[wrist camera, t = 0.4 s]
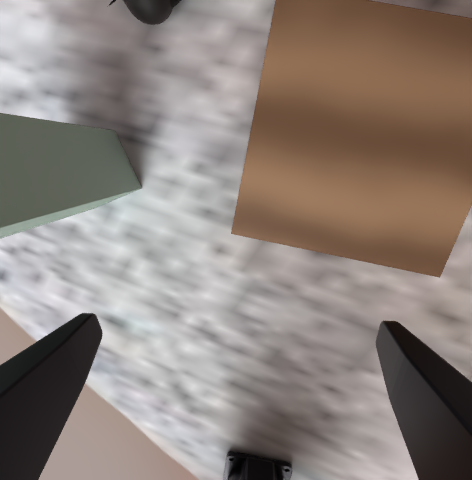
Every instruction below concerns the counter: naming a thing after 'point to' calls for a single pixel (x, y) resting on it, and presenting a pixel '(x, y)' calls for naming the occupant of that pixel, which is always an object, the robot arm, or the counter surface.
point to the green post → (57, 171)
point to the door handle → (150, 9)
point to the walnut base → (361, 134)
